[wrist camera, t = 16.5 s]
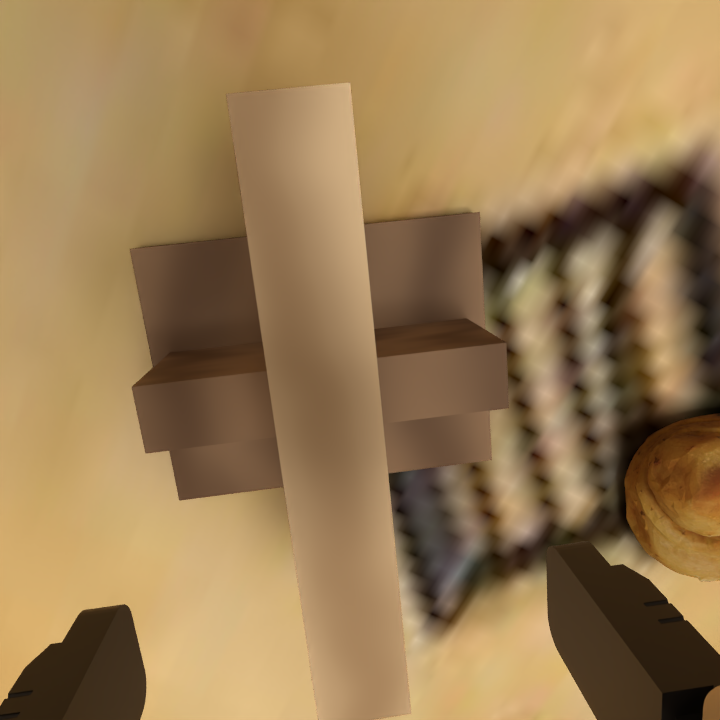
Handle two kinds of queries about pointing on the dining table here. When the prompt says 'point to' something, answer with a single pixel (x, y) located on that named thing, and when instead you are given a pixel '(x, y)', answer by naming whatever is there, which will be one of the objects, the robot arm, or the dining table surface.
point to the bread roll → (678, 496)
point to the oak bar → (324, 388)
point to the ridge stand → (248, 367)
